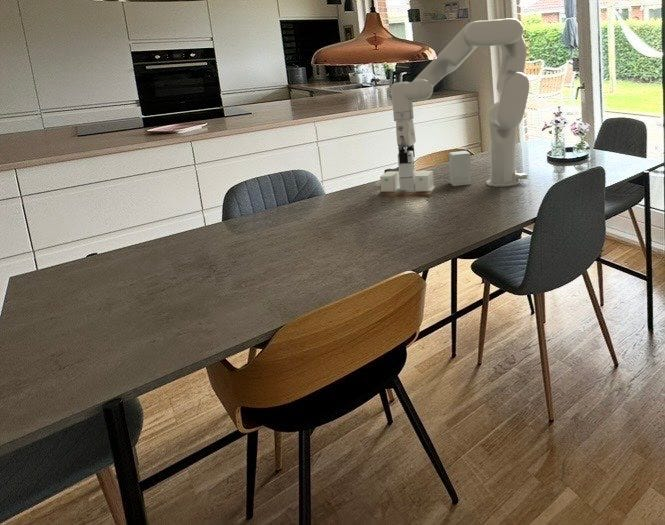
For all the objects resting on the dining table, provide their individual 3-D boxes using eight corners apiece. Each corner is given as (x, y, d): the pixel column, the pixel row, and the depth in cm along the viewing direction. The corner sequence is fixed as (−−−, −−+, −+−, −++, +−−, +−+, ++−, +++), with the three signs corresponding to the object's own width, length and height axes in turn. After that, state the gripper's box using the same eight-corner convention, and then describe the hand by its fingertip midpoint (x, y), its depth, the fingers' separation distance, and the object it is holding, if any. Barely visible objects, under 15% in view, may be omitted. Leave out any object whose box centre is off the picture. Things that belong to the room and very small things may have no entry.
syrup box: (414, 189, 222) (412, 152, 217) (399, 190, 223) (397, 153, 218) (415, 186, 227) (413, 150, 222) (401, 187, 229) (398, 151, 224)
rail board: (437, 188, 227) (436, 184, 226) (430, 196, 217) (429, 192, 216) (387, 189, 235) (386, 185, 235) (378, 196, 225) (377, 192, 225)
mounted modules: (433, 185, 226) (432, 170, 223) (427, 191, 218) (427, 176, 215) (388, 185, 233) (387, 171, 231) (380, 191, 225) (379, 176, 223)
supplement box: (471, 184, 228) (470, 153, 224) (452, 186, 228) (451, 155, 224) (467, 180, 235) (466, 150, 231) (449, 182, 235) (448, 152, 231)
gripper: (406, 118, 207) (410, 164, 213) (418, 111, 222) (422, 155, 227) (387, 120, 210) (391, 165, 216) (400, 113, 225) (404, 156, 230)
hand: (407, 160), depth 222 cm, fingers open, 9 cm apart
